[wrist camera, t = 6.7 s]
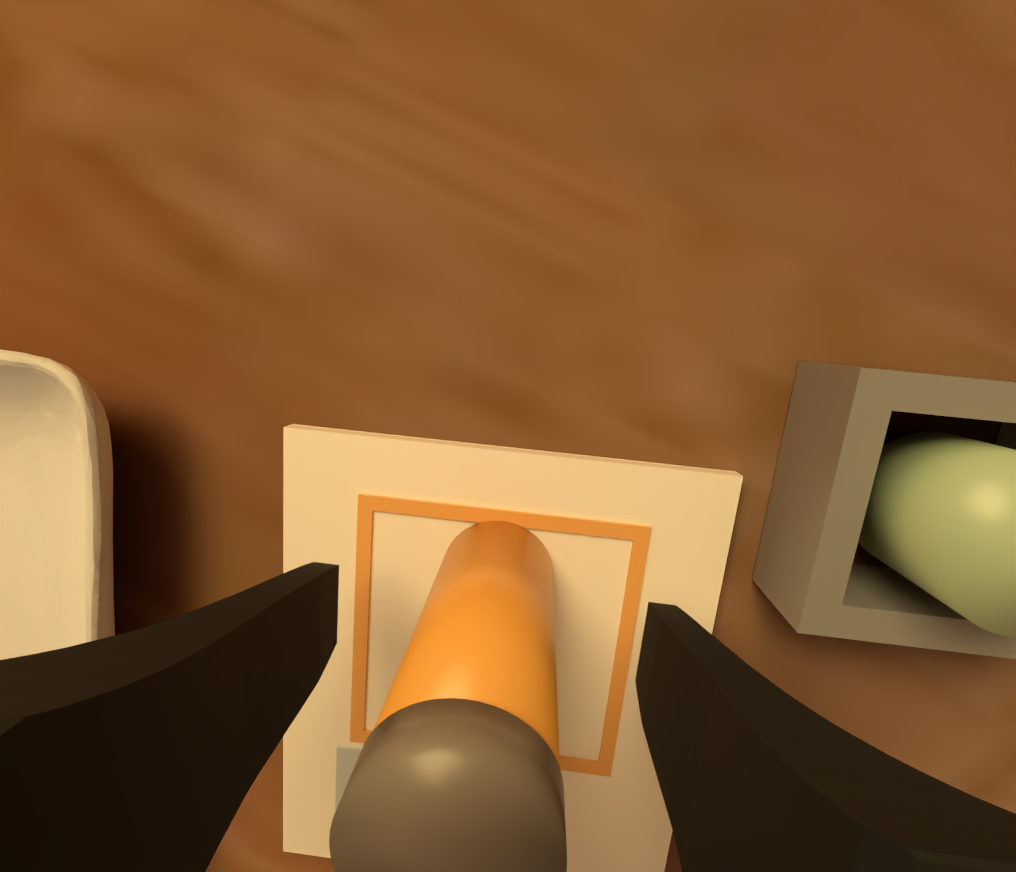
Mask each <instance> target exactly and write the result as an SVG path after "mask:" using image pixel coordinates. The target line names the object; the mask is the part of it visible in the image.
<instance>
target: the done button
mask: <svg viewBox="0 0 1016 872" xmlns="http://www.w3.org/2000/svg"><path fill="white" fill-rule="evenodd" d="M858 543H859V544H860V545H861V546H862V548H864V549H865V550H866V551H867V552H868V553H870V554H871V555H873V556H874V557H875V558H877V559H878V560H880V561H881V562H883V563H884V564H886V565H887V566H889V567H890V568H892V569H893V570H895V571H896V572H898V573H899V574H901V575H902V576H904V577H905V578H907V579H908V580H910V581H911V582H913V583H914V584H916V585H917V586H919V587H920V588H922V589H923V590H925V591H926V592H927V593H929V594H930V595H932V596H933V597H935V598H936V599H938V600H939V601H941V602H942V603H944V604H945V605H947V606H948V607H950V608H951V609H953V610H954V611H956V612H957V613H959V614H960V615H962V616H963V617H965V618H966V619H968V620H969V621H971V622H972V623H974V624H975V625H977V626H979V627H980V628H982V629H985V630H987V631H989V632H992V633H995V634H998V635H1001V636H1007V637H1013V638H1016V450H1014V449H1010V448H1006V447H1002V446H998V445H994V444H990V443H986V442H982V441H978V440H974V439H970V438H966V437H962V436H958V435H954V434H950V433H944V432H934V431H927V432H918V433H913V434H908V435H905V436H902V437H899V438H897V439H895V440H892V441H890V442H889V443H887V444H885V445H884V446H883V447H882V451H881V455H880V459H879V463H878V467H877V471H876V474H875V478H874V482H873V486H872V490H871V494H870V498H869V502H868V506H867V509H866V513H865V517H864V521H863V525H862V529H861V533H860V537H859V541H858Z"/></svg>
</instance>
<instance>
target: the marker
mask: <svg viewBox="0 0 1016 872" xmlns="http://www.w3.org/2000/svg"><path fill="white" fill-rule="evenodd" d="M329 847H330V855H331V859H332V863H333V867H334V869H335V871H336V872H567V846H566V823H565V800H564V785H563V777H562V773H561V770H560V760H559V732H558V704H557V677H556V649H555V622H554V594H553V570H552V563H551V559H550V556H549V554H548V551H547V550H546V548H545V546H544V545H543V544H542V542H541V541H540V540H539V539H538V538H537V537H536V536H535V535H534V534H533V533H531V532H530V531H529V530H527V529H525V528H524V527H521V526H519V525H517V524H514V523H510V522H505V521H485V522H481V523H477V524H475V525H472V526H470V527H468V528H466V529H465V530H463V531H462V532H461V533H459V534H458V535H457V536H456V537H455V538H454V540H453V541H452V542H451V544H450V545H449V547H448V549H447V551H446V553H445V556H444V558H443V561H442V563H441V566H440V568H439V571H438V573H437V575H436V578H435V580H434V583H433V585H432V588H431V590H430V593H429V595H428V597H427V600H426V602H425V605H424V607H423V610H422V612H421V615H420V617H419V619H418V622H417V624H416V627H415V629H414V632H413V634H412V636H411V639H410V641H409V644H408V646H407V649H406V651H405V654H404V656H403V658H402V661H401V663H400V666H399V668H398V671H397V673H396V676H395V678H394V680H393V683H392V685H391V688H390V690H389V693H388V695H387V698H386V700H385V702H384V705H383V707H382V710H381V712H380V715H379V717H378V720H377V722H376V724H375V727H374V729H373V731H372V732H371V734H370V735H369V737H368V738H367V740H366V741H365V743H364V745H363V748H362V750H361V752H360V755H359V757H358V759H357V762H356V764H355V766H354V769H353V771H352V774H351V776H350V778H349V781H348V783H347V786H346V788H345V790H344V793H343V795H342V798H341V800H340V802H339V805H338V807H337V810H336V812H335V814H334V817H333V820H332V824H331V828H330V836H329Z"/></svg>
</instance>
